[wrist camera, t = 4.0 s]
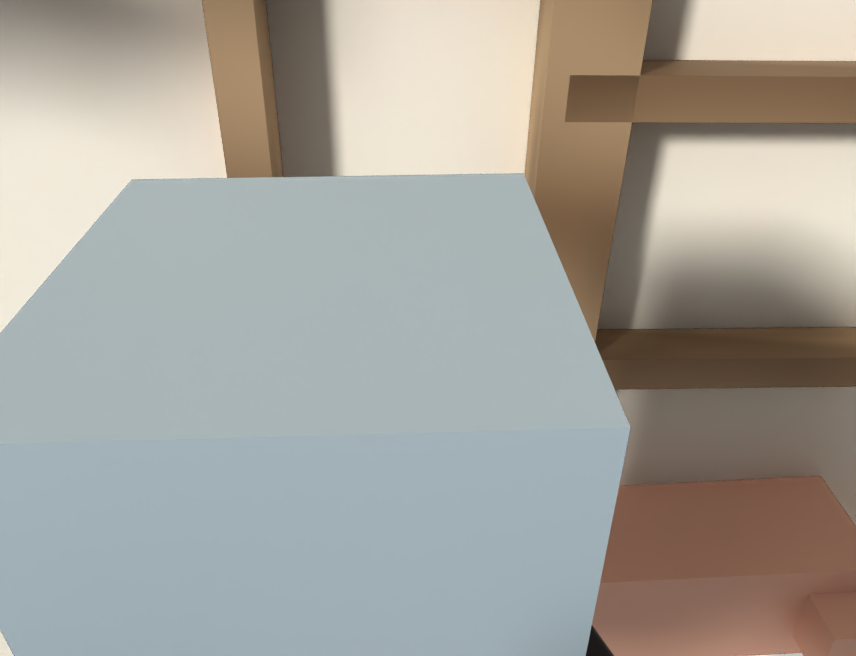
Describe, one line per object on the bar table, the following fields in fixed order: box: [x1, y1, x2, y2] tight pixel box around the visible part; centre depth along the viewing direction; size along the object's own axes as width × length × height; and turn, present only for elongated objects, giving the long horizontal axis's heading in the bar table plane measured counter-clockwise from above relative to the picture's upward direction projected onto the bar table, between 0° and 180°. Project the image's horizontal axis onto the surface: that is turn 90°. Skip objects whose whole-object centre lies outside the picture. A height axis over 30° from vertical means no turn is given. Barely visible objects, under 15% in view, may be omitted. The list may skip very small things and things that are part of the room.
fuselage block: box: [592, 476, 856, 656], centre depth 23 cm, size 4×10×6 cm, turn 92°
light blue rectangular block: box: [0, 173, 631, 656], centre depth 8 cm, size 10×4×4 cm, turn 0°
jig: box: [202, 0, 856, 389], centre depth 18 cm, size 15×22×2 cm
